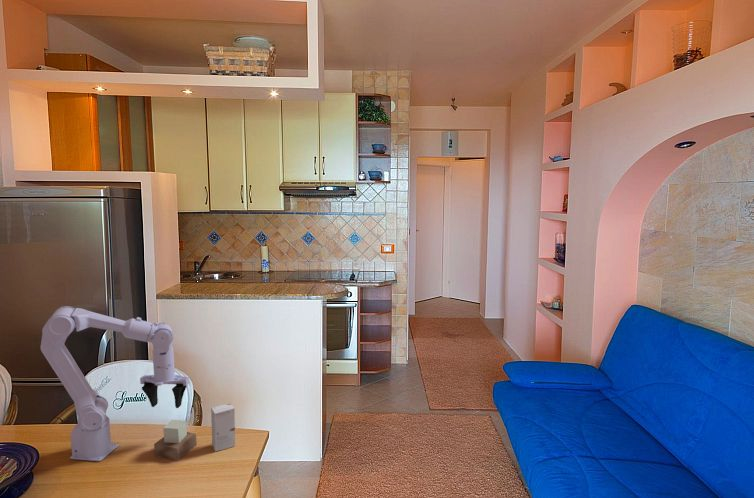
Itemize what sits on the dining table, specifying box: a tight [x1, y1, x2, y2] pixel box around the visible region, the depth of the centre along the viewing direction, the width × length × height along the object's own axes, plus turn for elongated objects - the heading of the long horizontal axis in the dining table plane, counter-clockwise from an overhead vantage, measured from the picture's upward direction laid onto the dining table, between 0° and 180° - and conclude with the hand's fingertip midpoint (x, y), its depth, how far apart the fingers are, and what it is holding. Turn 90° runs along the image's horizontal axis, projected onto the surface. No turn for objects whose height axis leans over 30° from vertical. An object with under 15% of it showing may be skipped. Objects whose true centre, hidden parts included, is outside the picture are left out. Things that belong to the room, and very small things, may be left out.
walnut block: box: [153, 431, 198, 461], centre depth 131 cm, size 8×8×4 cm
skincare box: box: [210, 402, 236, 452], centre depth 133 cm, size 6×4×12 cm
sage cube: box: [162, 419, 188, 443], centre depth 131 cm, size 4×4×4 cm
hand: (166, 405), depth 137 cm, fingers open, 7 cm apart
